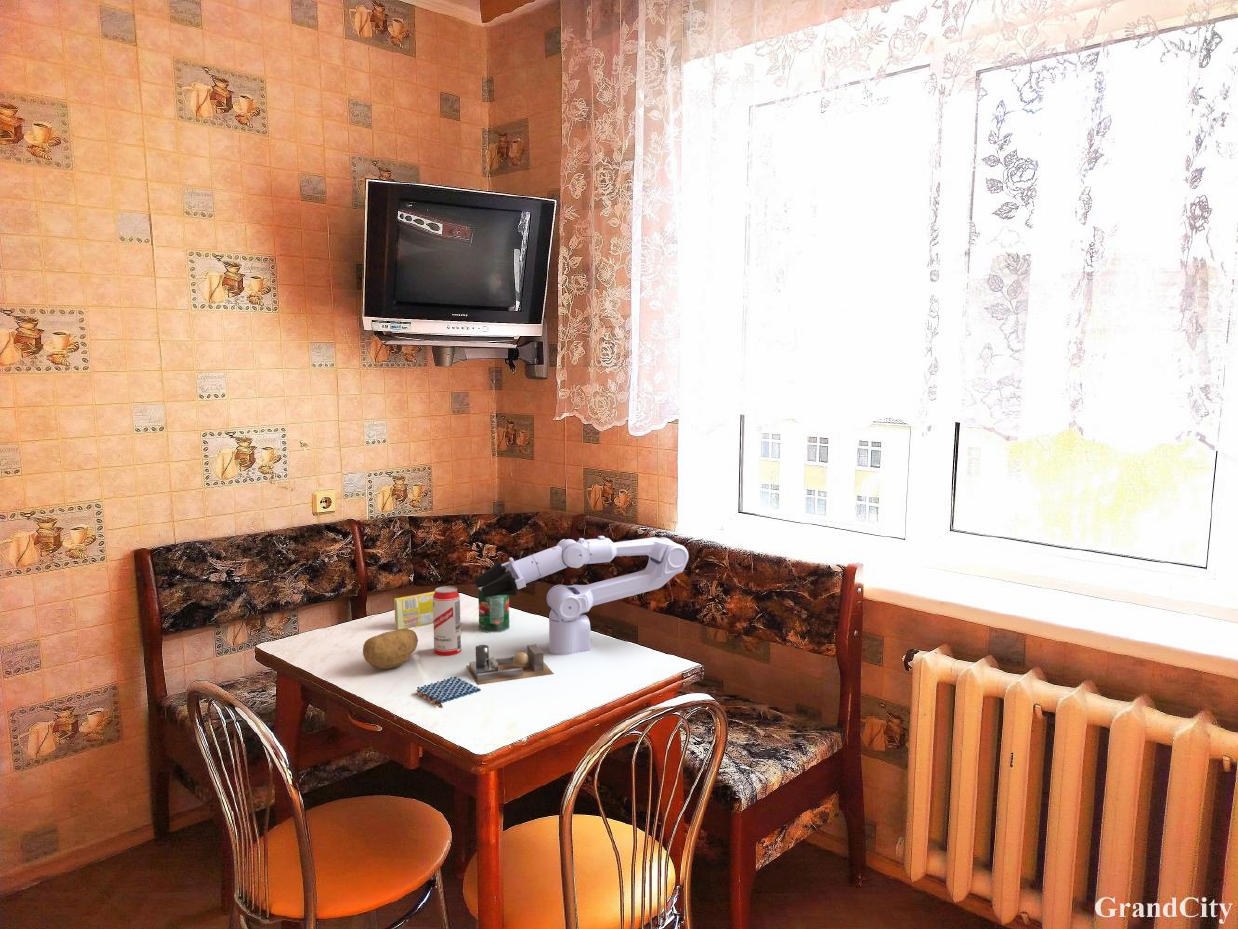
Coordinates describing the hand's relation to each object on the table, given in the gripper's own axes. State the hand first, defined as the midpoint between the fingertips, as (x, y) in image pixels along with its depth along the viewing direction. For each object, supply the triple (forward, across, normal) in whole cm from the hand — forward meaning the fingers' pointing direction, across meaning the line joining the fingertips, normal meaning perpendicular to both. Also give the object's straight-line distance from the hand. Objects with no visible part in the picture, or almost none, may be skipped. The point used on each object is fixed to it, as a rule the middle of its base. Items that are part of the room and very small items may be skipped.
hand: (479, 588), depth 193 cm
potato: (+24, -5, +12) cm, 27 cm away
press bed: (0, +9, +18) cm, 20 cm away
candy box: (+13, -34, +16) cm, 39 cm away
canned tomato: (-3, -24, +20) cm, 32 cm away
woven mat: (+15, +16, +15) cm, 26 cm away
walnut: (-2, +9, +18) cm, 20 cm away
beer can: (+11, -8, +16) cm, 21 cm away
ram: (+5, +9, +15) cm, 19 cm away
